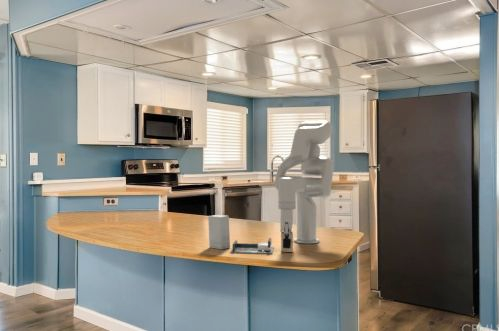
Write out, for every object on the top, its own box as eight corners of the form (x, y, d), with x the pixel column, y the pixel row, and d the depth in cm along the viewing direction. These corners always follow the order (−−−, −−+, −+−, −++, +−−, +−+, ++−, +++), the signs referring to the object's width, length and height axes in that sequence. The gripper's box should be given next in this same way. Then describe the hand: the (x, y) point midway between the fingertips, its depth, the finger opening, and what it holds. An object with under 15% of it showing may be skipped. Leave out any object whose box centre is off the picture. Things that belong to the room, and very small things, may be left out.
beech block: (281, 249, 191) (281, 231, 191) (292, 249, 190) (292, 231, 190) (281, 251, 186) (281, 233, 186) (292, 252, 185) (292, 233, 185)
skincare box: (230, 248, 195) (230, 215, 195) (221, 250, 190) (221, 216, 190) (217, 245, 200) (217, 214, 200) (207, 247, 196) (207, 215, 196)
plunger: (259, 247, 193) (259, 237, 193) (271, 247, 192) (271, 238, 192) (257, 251, 183) (257, 241, 183) (269, 252, 183) (269, 242, 183)
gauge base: (234, 247, 197) (234, 239, 197) (273, 248, 194) (273, 240, 194) (230, 253, 185) (230, 244, 185) (272, 254, 183) (272, 246, 182)
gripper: (279, 203, 197) (279, 242, 197) (277, 207, 180) (277, 250, 180) (295, 203, 196) (295, 242, 196) (295, 208, 179) (295, 251, 179)
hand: (287, 246), depth 188 cm, fingers closed on beech block, 5 cm apart
